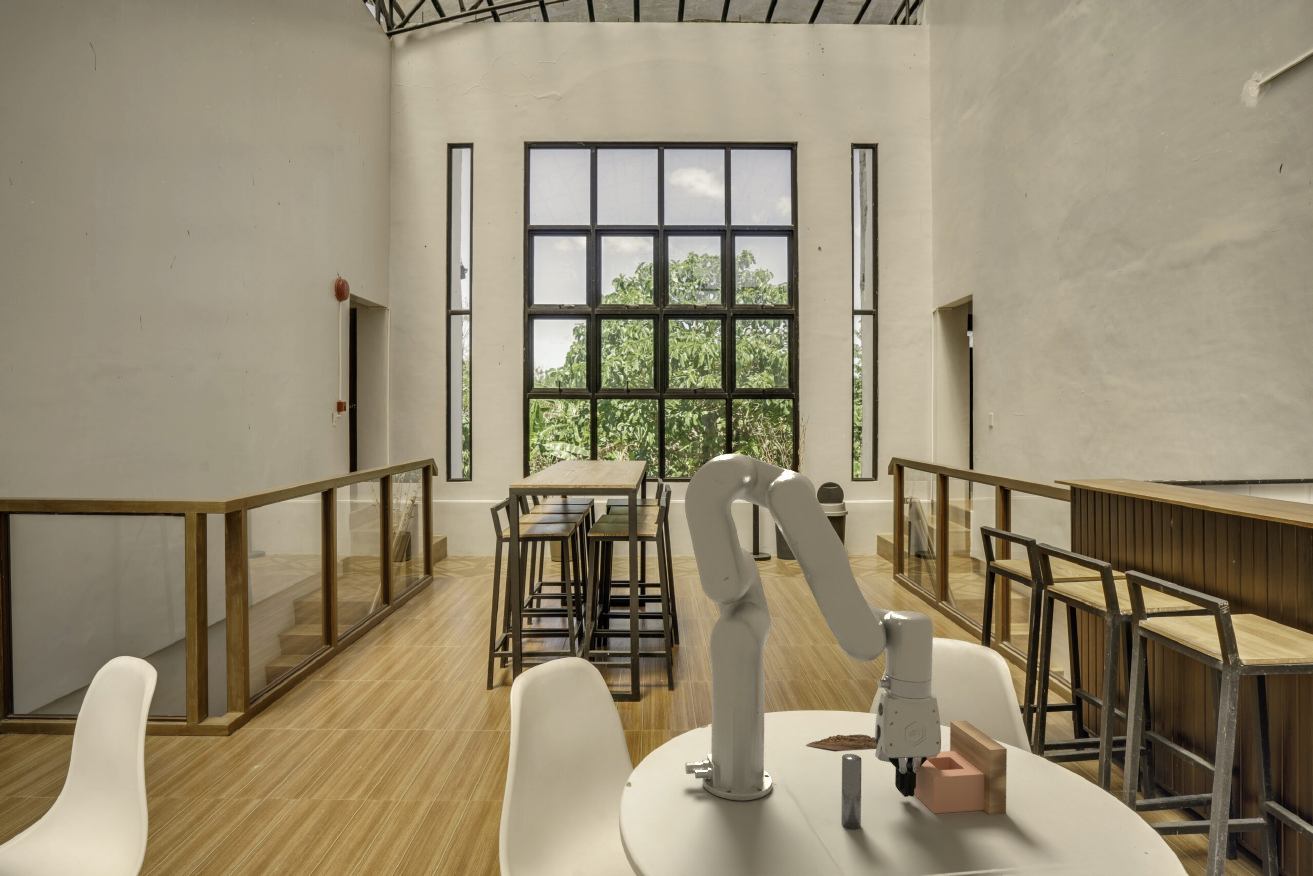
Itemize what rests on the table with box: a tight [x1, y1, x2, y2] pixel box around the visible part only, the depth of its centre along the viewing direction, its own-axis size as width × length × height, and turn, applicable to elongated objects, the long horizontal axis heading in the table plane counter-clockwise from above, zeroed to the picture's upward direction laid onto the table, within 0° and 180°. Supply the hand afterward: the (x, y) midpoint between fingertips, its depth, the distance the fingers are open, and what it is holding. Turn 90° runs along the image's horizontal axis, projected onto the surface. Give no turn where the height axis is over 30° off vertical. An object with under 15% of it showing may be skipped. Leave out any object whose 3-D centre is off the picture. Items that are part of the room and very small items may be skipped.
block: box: [914, 750, 984, 814], centre depth 126 cm, size 9×9×6 cm
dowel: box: [840, 753, 862, 831], centre depth 117 cm, size 3×3×12 cm
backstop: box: [949, 720, 1008, 816], centre depth 126 cm, size 3×12×11 cm, turn 8°
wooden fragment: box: [805, 734, 877, 752], centre depth 149 cm, size 26×11×1 cm, turn 81°
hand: (905, 792), depth 125 cm, fingers closed
